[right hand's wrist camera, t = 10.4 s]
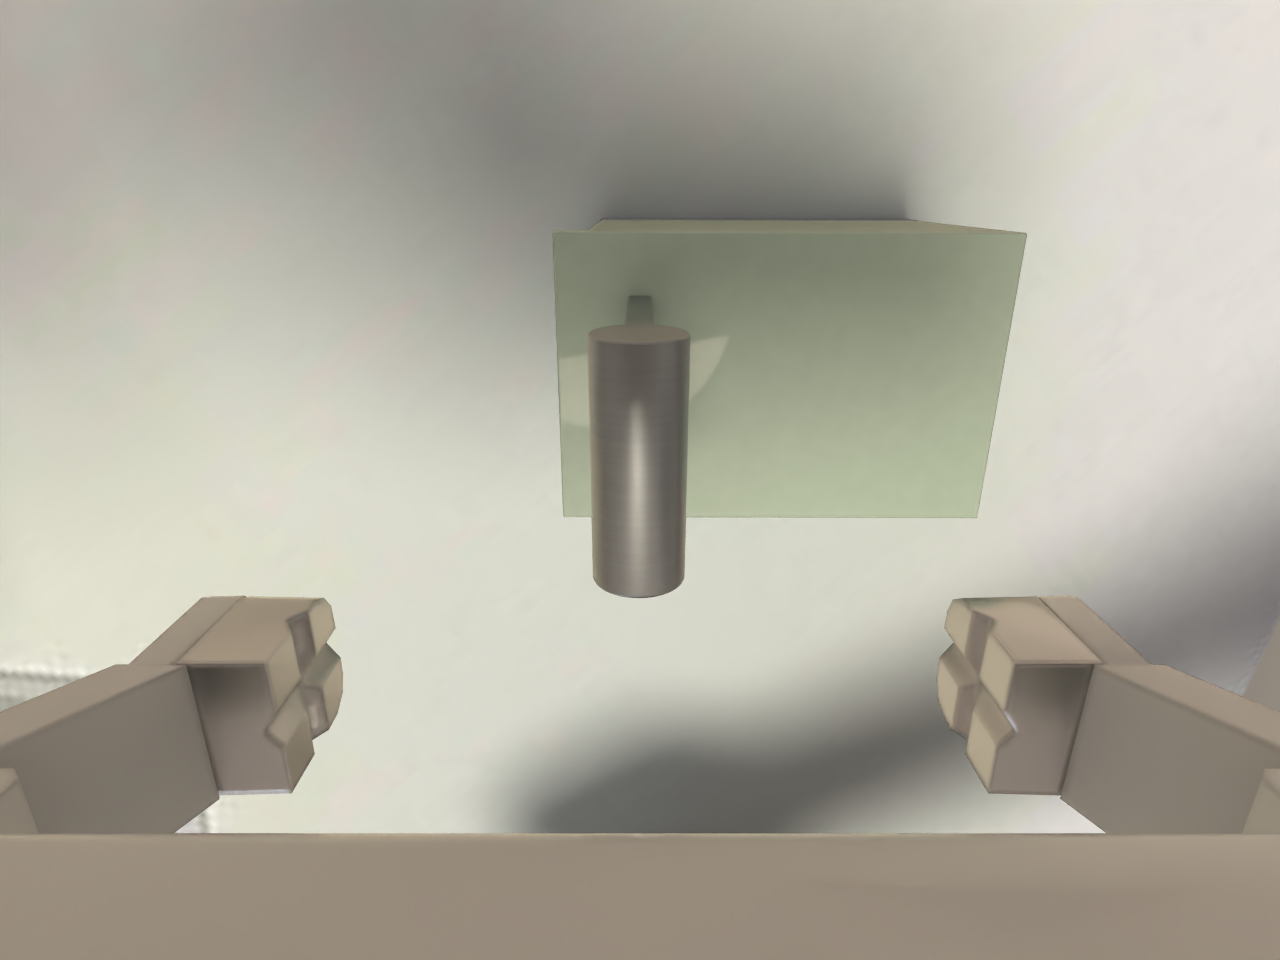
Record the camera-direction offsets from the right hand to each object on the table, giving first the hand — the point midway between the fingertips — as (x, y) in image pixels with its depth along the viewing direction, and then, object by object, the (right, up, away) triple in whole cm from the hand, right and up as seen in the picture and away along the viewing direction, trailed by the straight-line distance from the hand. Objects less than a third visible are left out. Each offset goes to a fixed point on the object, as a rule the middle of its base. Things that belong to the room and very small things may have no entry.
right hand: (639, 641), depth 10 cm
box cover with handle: (+4, +5, +14) cm, 16 cm away
